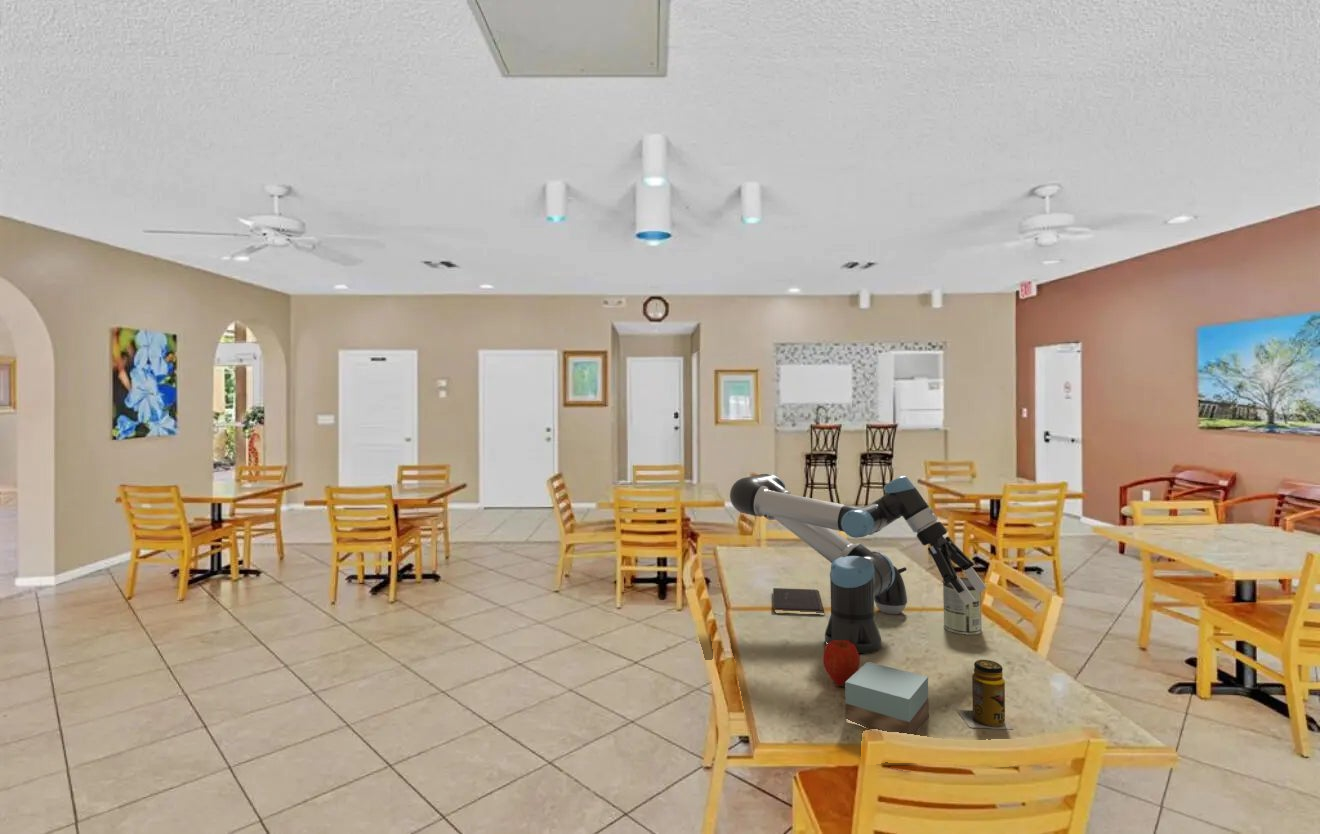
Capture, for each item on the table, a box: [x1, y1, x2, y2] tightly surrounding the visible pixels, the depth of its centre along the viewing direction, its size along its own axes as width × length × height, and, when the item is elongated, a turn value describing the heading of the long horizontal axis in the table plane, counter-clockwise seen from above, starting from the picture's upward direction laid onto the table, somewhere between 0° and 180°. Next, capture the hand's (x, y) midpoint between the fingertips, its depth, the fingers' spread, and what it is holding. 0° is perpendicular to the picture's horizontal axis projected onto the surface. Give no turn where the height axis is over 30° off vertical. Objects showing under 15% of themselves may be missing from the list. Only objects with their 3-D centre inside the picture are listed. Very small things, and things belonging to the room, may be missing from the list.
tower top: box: [844, 661, 929, 722], centre depth 130 cm, size 13×13×4 cm
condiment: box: [956, 659, 1014, 730], centre depth 129 cm, size 7×8×12 cm
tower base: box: [844, 697, 930, 735], centre depth 130 cm, size 13×13×4 cm
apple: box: [822, 640, 861, 687], centre depth 146 cm, size 9×8×11 cm
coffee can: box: [942, 576, 983, 636], centre depth 182 cm, size 10×10×14 cm
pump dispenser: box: [874, 565, 908, 615], centre depth 199 cm, size 10×10×15 cm
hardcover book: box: [772, 587, 825, 613], centre depth 209 cm, size 16×23×2 cm
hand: (977, 596), depth 164 cm, fingers open, 13 cm apart
